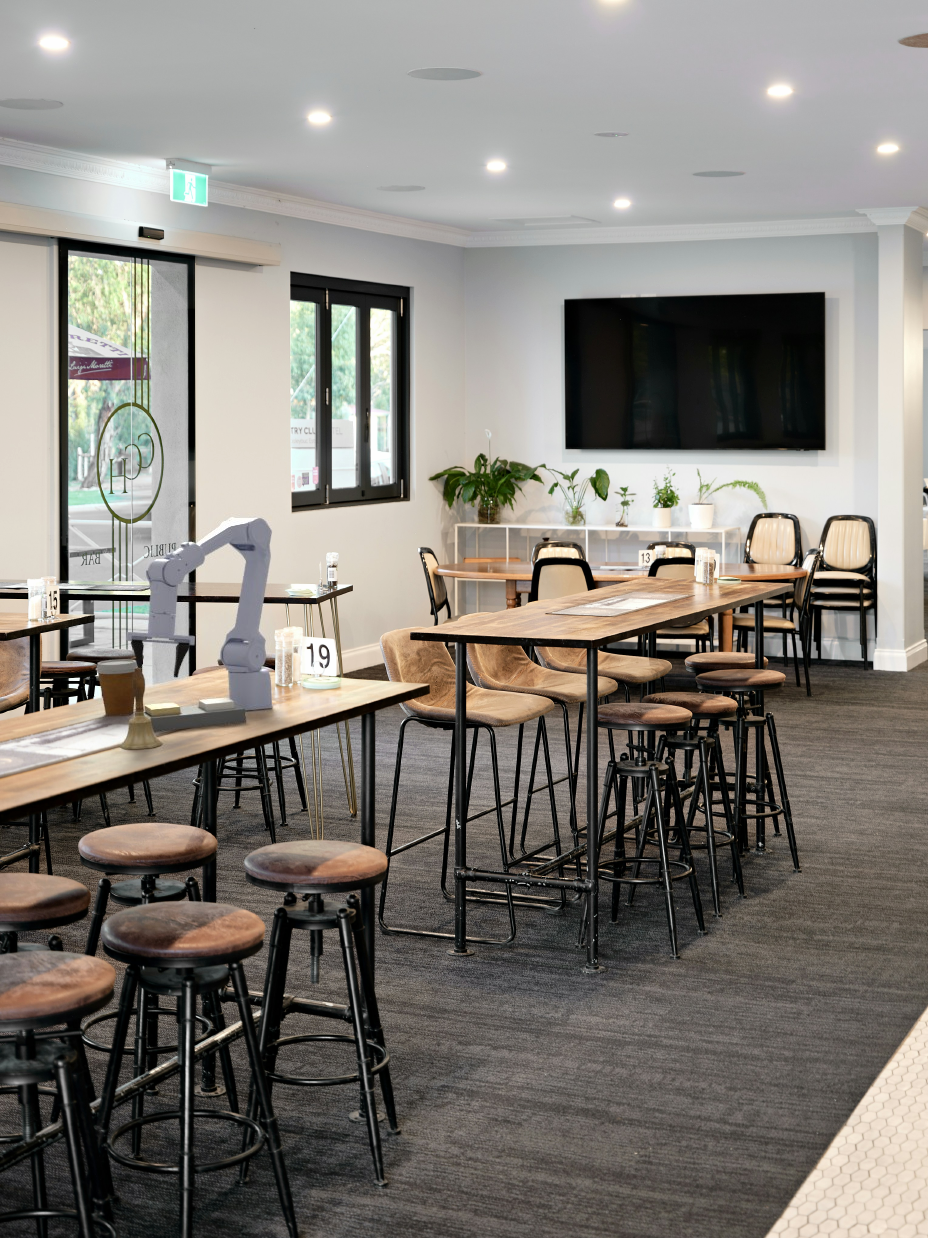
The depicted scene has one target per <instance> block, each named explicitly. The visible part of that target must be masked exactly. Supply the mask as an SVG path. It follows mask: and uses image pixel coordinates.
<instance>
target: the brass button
mask: <svg viewBox="0 0 928 1238" xmlns="http://www.w3.org/2000/svg"><path fill="white" fill-rule="evenodd" d="M180 707H181V706H179V705H178V704H176V703H175V702H167V703H166V702H165V703H164V702H163V703H153V704H145V705H144V710H145V713H146V714H147V715H148V716H150V717H153V716H163V715H173V714H181V712H180Z"/></svg>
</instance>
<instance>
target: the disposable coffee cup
mask: <svg viewBox="0 0 928 1238" xmlns="http://www.w3.org/2000/svg"><path fill="white" fill-rule="evenodd" d="M135 668H138V667H137V661H136V659H126V658H125V659H122V658H121V659H109V660H102V661H99V662H97V665H96V668H95V671H96V673H97V674H98V680H99V684H100V691H101V695H102V701H103V706H104V707H103V708H104V711H105V712H104V713H105V716H108V717H109V716H110V717H120V716H128V715H132V714H135V713H134V710H135V695H134V693H133V688H132V679H133V675H134V671H135Z"/></svg>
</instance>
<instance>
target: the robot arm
mask: <svg viewBox="0 0 928 1238" xmlns="http://www.w3.org/2000/svg"><path fill="white" fill-rule="evenodd" d="M272 533H273V530H272V529H271V527H270V525H268V523H267V521H266V520H265V519H263V518H262V517H255V518H250V517H249V518H239V517H230V518H228V519H227V520H226V521H222V522H221V524H220V526H218V527H217V528H216V529H214V530H213V531H212V532H210V533H209V534H207V535H206V536H205V537H203V538H202V539H201V540H199V541H198V542H196V543H195V542H194V541H193V542H192V541H189V542H188V541H184V542H182V543H180V547H179V548H177V549H176V550H174V551H173V552H168V553H166V554H165V557H164V558H157V559H154V560H153V561H152V562H151V563H150V564H149V566H148V569H146V570H145V576H146V579H147V581H148V583H149V586H148V587H149V588H148V589H149V590H150V591H149V592H150V595H149V596H150V597H149V607H148V609H149V610H148V611H149V612H148V624H147V632H135V631H132V632H131V631H126V637H125V640H126V641H127V642H130V645H131V648H132V650H133V653H134V656H135V661H136V663H137V667H138V668H141V670H142V671H143V659H144V658H143V657H144V648H145V645H144V643H155V644H156V643H157V644H158V643H159V644H160V643H161V644H174V645H176V646H175V662H174V667H173V668H174V670H173V677H174V678H179V672H180V669H181V666H182V664H183V662H184V660H185V657H186V655H187V654H188V652H189V649H190V646H195V640H196V639H195V638H196V637H195V636H194V635H181V634H180V635H179V634H175V630H176V628H175V627H176V617H177V616H176V613H177V602H178V590H179V589H178V587H179V585H181V584H182V583H183V581H184V580H185V576H186V575H188V574H189V573H191V572H193V571H194V570H195V569H197V568H199V567H201V566H202V565H203V564H204V563H205V559H206V556H209V555H210V554H212V553H213V552H215V551H217V550H219V549H220V548H223V547H224V546H226V545H227V544H229V545H230V546H231V547H232V548H233V549H234V550H236V551H237V552H238V553H239V554H240V555H241V556H242V557H243V559H244V560H245V563H244V564H245V565H244V570H243V577H242V584H241V589H240V594H239V600H238V605H237V606H238V607H237V613H236V618H235V619H236V620H235V624H234V627H233V628H232V629H231V630H229V632H228V633H227V634H226V635H225V641H224V643H223V644H222V646H221V647H220V651H219V652H220V655H219V657H220V658H219V659H220V660H221V663H222V664H223V665H224V666H225V671H228V674H227V675H228V677H227V678H228V695H229V696H228V699H230V700H232V701H234V703H235V704H237V705H239V706H241V707H243V708H245V709H246V711H255V710H256V711H257V710H265V709H272V708H274V705H273V699H272V695H273V694H272V680H271V679H272V678H271V674H270V671H269V669H266V668H262V667H263V666H264V665H265V662H266V659H267V653H266V638H265V637H264V636H263V634H262V633H261V632H260V630H259V629H260V626H261V625H260V623H261V618H262V612H263V611H262V610H263V605H264V599H265V593H266V587H267V582H268V576H269V569H270V564H271V559H272V557H271V556H272V555H271V554H272V553H271V547H270V545H271V540H272V539H271V538H272ZM153 638H154V639H153ZM157 638H158V639H168V640H155V639H157Z"/></svg>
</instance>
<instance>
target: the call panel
mask: <svg viewBox="0 0 928 1238" xmlns="http://www.w3.org/2000/svg"><path fill="white" fill-rule="evenodd" d="M135 712H136V711H134V713H133V714H135ZM180 712H181V714H173V715H163V716H153V717H150V716H148V715H147V714H146V713H145V709H144V716H145V717H147V718H150V719H151V723H152V727H153V731H154V733H155V732H156V733H157V732H165V731H166V732H167V731H174V730H175V731H176V730H186V729H194V728H205V727H214V726H215V727H216V726H225V725H233V724H244V723H247V714H246V709H245V708H243V707H241V706H239V705H237V704H235V703H234V708H233V709H223V710H213V711H204V710H202V709H200V708H199V704H196V705H186V706H180Z"/></svg>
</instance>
